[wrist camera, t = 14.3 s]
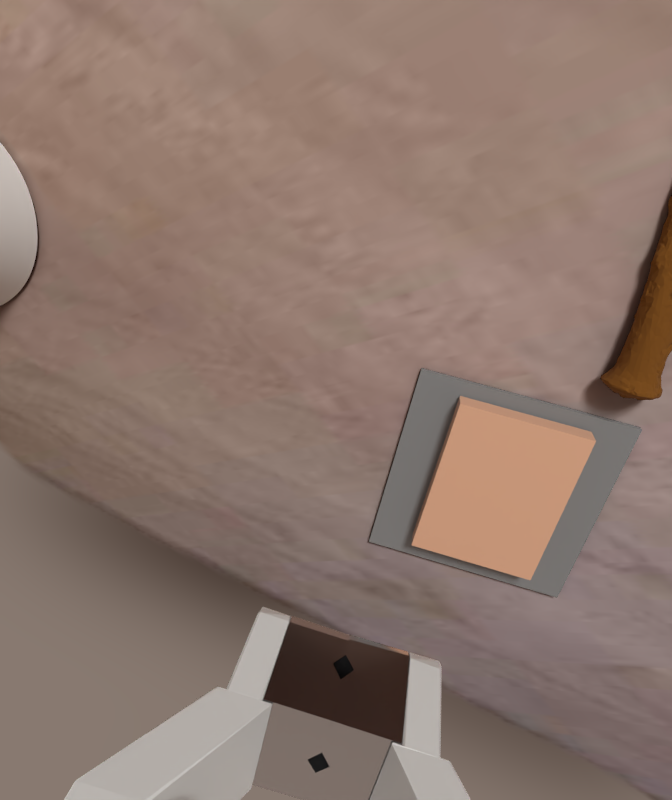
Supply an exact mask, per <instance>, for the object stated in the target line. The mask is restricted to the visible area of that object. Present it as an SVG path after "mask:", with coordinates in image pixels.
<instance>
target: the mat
mask: <svg viewBox="0 0 672 800" xmlns="http://www.w3.org/2000/svg"><path fill="white" fill-rule="evenodd" d="M460 396H463V397H467V398H470V399H474V400H478V401H481V402H485V403H489V404H492V405H496V406H499V407H503V408H507V409H510V410H514V411H518V412H521V413H525V414H529V415H532V416H536V417H540V418H543V419H547V420H550V421H554V422H558V423H561V424H565V425H569V426H572V427H576V428H580V429H583V430H587V431H591V432H592V434H593V436H594V438H595V440H596V443H595V445H594V447H593V449H592V451H591V453H590V455H589V458H588V460H587V462H586V464H585V466H584V468H583V470H582V472H581V474H580V477H579V479H578V481H577V483H576V485H575V487H574V489H573V491H572V494H571V496H570V498H569V500H568V502H567V504H566V506H565V508H564V511H563V513H562V515H561V517H560V519H559V521H558V523H557V525H556V527H555V530H554V532H553V534H552V536H551V538H550V540H549V542H548V544H547V547H546V549H545V551H544V553H543V555H542V557H541V559H540V561H539V564H538V566H537V568H536V570H535V572H534V574H533V576H532V578H531V580H527V579H524V578H520V577H517V576H514V575H510V574H507V573H503V572H500V571H497V570H493V569H490V568H487V567H483V566H480V565H476V564H473V563H470V562H466V561H463V560H460V559H456V558H453V557H449V556H446V555H443V554H439V553H436V552H433V551H429V550H426V549H422V548H419V547H416V546H412V535H413V531H414V529H415V526H416V523H417V520H418V517H419V514H420V511H421V508H422V505H423V502H424V499H425V496H426V493H427V491H428V488H429V485H430V482H431V479H432V476H433V473H434V470H435V467H436V464H437V461H438V458H439V456H440V453H441V450H442V447H443V444H444V441H445V438H446V435H447V432H448V429H449V426H450V423H451V421H452V418H453V415H454V412H455V409H456V406H457V403H458V400H459V397H460ZM641 431H642V429H641V428H640V427H637V426H633V425H629V424H626V423H622V422H618V421H615V420H611V419H607V418H604V417H600V416H596V415H593V414H589V413H585V412H582V411H578V410H574V409H571V408H567V407H563V406H559V405H556V404H552V403H548V402H545V401H541V400H537V399H534V398H530V397H526V396H523V395H519V394H515V393H512V392H508V391H504V390H501V389H497V388H493V387H490V386H486V385H482V384H479V383H475V382H471V381H468V380H464V379H460V378H457V377H453V376H449V375H446V374H442V373H438V372H435V371H431V370H427V369H424V368H421V371H420V375H419V378H418V381H417V385H416V388H415V391H414V394H413V398H412V401H411V404H410V408H409V411H408V414H407V417H406V421H405V424H404V427H403V431H402V434H401V437H400V440H399V444H398V447H397V450H396V454H395V457H394V460H393V463H392V467H391V470H390V473H389V477H388V480H387V483H386V486H385V490H384V493H383V496H382V500H381V503H380V506H379V509H378V513H377V516H376V519H375V523H374V526H373V529H372V532H371V536H370V539H369V542H372V543H375V544H378V545H382V546H385V547H388V548H392V549H395V550H399V551H402V552H405V553H409V554H412V555H415V556H419V557H422V558H425V559H429V560H432V561H436V562H439V563H442V564H446V565H449V566H452V567H456V568H459V569H462V570H466V571H469V572H473V573H476V574H479V575H483V576H486V577H489V578H493V579H496V580H499V581H503V582H506V583H510V584H513V585H516V586H520V587H523V588H526V589H530V590H533V591H536V592H540V593H543V594H547V595H550V596H553V597H558V595H559V593H560V591H561V589H562V587H563V585H564V583H565V581H566V579H567V577H568V575H569V573H570V571H571V569H572V567H573V565H574V563H575V561H576V559H577V557H578V555H579V553H580V551H581V549H582V547H583V546H584V544H585V542H586V540H587V538H588V536H589V534H590V532H591V530H592V528H593V526H594V524H595V522H596V520H597V518H598V516H599V514H600V512H601V510H602V508H603V506H604V504H605V502H606V500H607V498H608V496H609V494H610V492H611V490H612V488H613V486H614V484H615V482H616V480H617V478H618V476H619V474H620V472H621V470H622V468H623V466H624V464H625V462H626V461H627V459H628V457H629V455H630V453H631V451H632V449H633V447H634V445H635V443H636V441H637V439H638V437H639V435H640V433H641Z"/></svg>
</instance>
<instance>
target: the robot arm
mask: <svg viewBox="0 0 672 800" xmlns="http://www.w3.org/2000/svg"><path fill="white" fill-rule="evenodd" d="M37 239H38V235H37V222H36V216H35V211H34V206H33V203H32V199H31V196H30V193H29V190H28V188H27V186H26V183H25V181H24V179H23V177H22V175H21V173H20V171H19V169H18V167H17V165H16V164H15V162H14V161H13V159H12V157H11V156H10V155H9V153H8V152H7V150H6V149H5V148H4V147H3V145H2V144H1V143H0V306H1V305H3V304H5V303H6V302H8V301H9V300H11V299H12V298H13V297H14V296H15V295H16V294H17V293H19V291H20V290H21V289H22V288H23V286H24V285H25V283H26V282H27V280H28V278H29V276H30V274H31V272H32V269H33V266H34V262H35V258H36V252H37ZM441 674H442V667H441V665H440V662H439V661H437V660H433V659H430V658H426V657H423V656H420V655H416V654H413V653H410V652H409V653H408V652H407V651H403V650H400V649H397V648H393V647H390V646H386V645H383V644H380V643H376V642H373V641H370V640H366V639H363V638H359V637H356V636H353V635H347V634H344V633H342V632H339V631H336V630H333V629H330V628H327V627H324V626H321V625H318V624H315V623H312V622H309V621H306V620H303V619H300V618H297V617H294V616H292V618H291V616H289V615H286V614H283V613H280V612H277V611H274V610H271V609H268V608H265V607H262V608H261V610H260V611H259V613H258V614H257V617H256V619H255V621H254V624H253V626H252V629H251V631H250V634H249V636H248V638H247V641H246V643H245V646H244V648H243V650H242V652H241V655H240V657H239V660H238V662H237V664H236V667H235V669H234V672H233V674H232V677H231V679H230V682H229V684H228V686H227V688H226V689H225V688H222V687H215V688H214V689H212V690H211V691H209V692H208V693H206V694H205V695H203V696H202V697H200V698H199V699H197V700H196V701H194V702H193V703H191V704H190V705H188V706H187V707H185V708H184V709H182V710H181V711H179V712H178V713H176V714H175V715H173V716H172V717H170V718H169V719H167V720H166V721H164V722H163V723H161V724H160V725H158V726H157V727H155V728H154V729H152V730H151V731H149V732H148V733H146V734H145V735H143V736H142V737H140V738H139V739H137V740H136V741H134V742H133V743H131V744H130V745H129V746H127V747H125V748H124V749H122V750H121V751H119V752H118V753H116V754H115V755H113V756H112V757H110V758H109V759H108V760H106V761H104V762H103V763H101V764H100V765H98V766H97V767H95V768H94V769H92V770H91V771H89V772H88V773H86V774H85V775H83V776H82V777H80V778H79V779H77V780H76V781H75V783H74V784H73V786H72V787H71V789H70V791H69V792H68V794H67V796H66V797H65V799H64V800H240V799H241V798H242V797H243V796H244V795H245V794H246V793H247V792H248V791H249V790H250V789H251V787H252V785H255V786H258V787H262V788H265V789H269V790H272V791H275V792H278V793H282V794H285V795H288V796H292V797H295V798H299V799H302V800H471V799H470V797H469V795H468V793H467V792H466V790H465V788H464V786H463V784H462V782H461V781H460V779H459V777H458V775H457V773H456V771H455V769H454V768H453V766H452V764H451V762H450V761H448V760H445V759H442V758H440V742H441V741H440V740H441Z"/></svg>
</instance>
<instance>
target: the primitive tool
mask: <svg viewBox="0 0 672 800" xmlns="http://www.w3.org/2000/svg"><path fill="white" fill-rule="evenodd" d="M668 208H669V212H668V217H667V219H666V222H665V223H664V226H663V230H662V233H661V237H660V240H659V242H658V245H657V249H656V252H655V255H654V257H653V260H652V262H651V268H650V273H649V276H648V280H647V282H646V284H645V288H644V292H643V295H642V297H641V300H640V304H639V306H638V310H637V312H636V314H635V316H634V318H635V319H634V323H633V325H632V327H631V330H630V332H629V334H628V336H627V340H626V342H625V345H624V347H623V349H622V351H621V354H620V356H619V357H618V359H617V362H616V365H615V366H614V367H613V368H611V369H610V370H609V371H608V372H607V373H605V374H603V375H602V376H601V380H602V381H603V383H605V384H606V385H607V386H608V387H609V388H610V389H611V390H612V391H613V392H614V393H619V395H620V396H621V397H623V398H636V399H637V400H653V399H655V398H659V397H660V396H661V394H662V388H661V374H662V371H663V369H664V366H665V361H666V359H667V357H668V355H669V353H670V352H671V351H672V195H671V197H670V199H669V202H668Z"/></svg>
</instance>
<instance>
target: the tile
mask: <svg viewBox="0 0 672 800" xmlns="http://www.w3.org/2000/svg"><path fill="white" fill-rule="evenodd" d="M595 443H596V440H595V438H594V436H593V434H592V432H591V431H587V430H583V429H580V428H576V427H572V426H569V425H565V424H561V423H558V422H554V421H550V420H547V419H543V418H540V417H536V416H532V415H529V414H525V413H521V412H518V411H514V410H510V409H507V408H503V407H499V406H496V405H492V404H489V403H485V402H481V401H478V400H474V399H470V398H467V397H463V396H460V397H459V400H458V403H457V406H456V409H455V412H454V415H453V418H452V421H451V423H450V426H449V429H448V432H447V435H446V438H445V441H444V444H443V447H442V450H441V453H440V456H439V458H438V461H437V464H436V467H435V470H434V473H433V476H432V479H431V482H430V485H429V488H428V491H427V493H426V496H425V499H424V502H423V505H422V508H421V511H420V514H419V517H418V520H417V523H416V526H415V529H414V531H413V535H412V546H416V547H419V548H422V549H426V550H429V551H433V552H436V553H439V554H443V555H446V556H449V557H453V558H456V559H460V560H463V561H466V562H470V563H473V564H476V565H480V566H483V567H487V568H490V569H493V570H497V571H500V572H503V573H507V574H510V575H514V576H517V577H520V578H524V579H527V580H531V578H532V576H533V574H534V572H535V570H536V568H537V566H538V564H539V561H540V559H541V557H542V555H543V553H544V551H545V549H546V547H547V544H548V542H549V540H550V538H551V536H552V534H553V532H554V530H555V527H556V525H557V523H558V521H559V519H560V517H561V515H562V513H563V511H564V508H565V506H566V504H567V502H568V500H569V498H570V496H571V494H572V491H573V489H574V487H575V485H576V483H577V481H578V479H579V477H580V474H581V472H582V470H583V468H584V466H585V464H586V462H587V460H588V458H589V455H590V453H591V451H592V449H593V447H594V445H595Z"/></svg>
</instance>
